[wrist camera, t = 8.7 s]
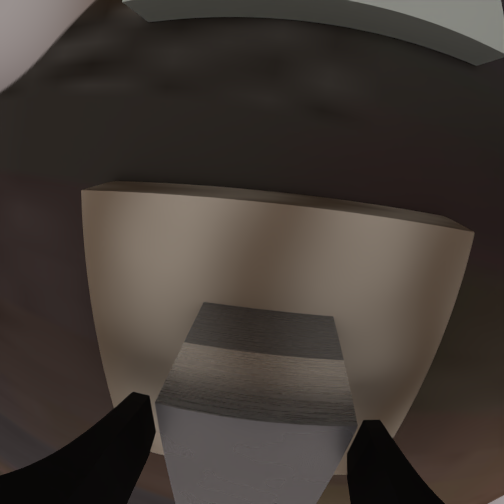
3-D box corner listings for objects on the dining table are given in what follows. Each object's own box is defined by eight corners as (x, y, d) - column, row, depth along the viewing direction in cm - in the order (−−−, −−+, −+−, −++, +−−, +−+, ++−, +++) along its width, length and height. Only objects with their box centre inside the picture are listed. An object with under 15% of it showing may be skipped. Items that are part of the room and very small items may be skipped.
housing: (333, 316, 11) (357, 426, 6) (303, 427, 13) (303, 522, 8) (203, 301, 11) (154, 403, 6) (203, 415, 13) (176, 507, 8)
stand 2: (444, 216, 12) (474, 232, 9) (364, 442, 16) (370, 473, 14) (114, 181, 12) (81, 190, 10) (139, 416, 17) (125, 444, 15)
